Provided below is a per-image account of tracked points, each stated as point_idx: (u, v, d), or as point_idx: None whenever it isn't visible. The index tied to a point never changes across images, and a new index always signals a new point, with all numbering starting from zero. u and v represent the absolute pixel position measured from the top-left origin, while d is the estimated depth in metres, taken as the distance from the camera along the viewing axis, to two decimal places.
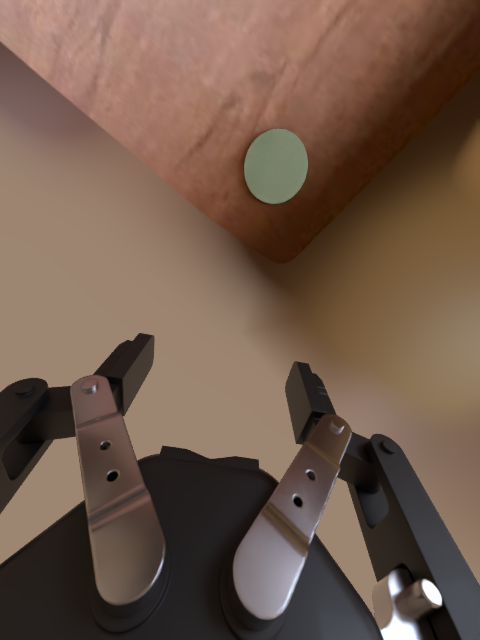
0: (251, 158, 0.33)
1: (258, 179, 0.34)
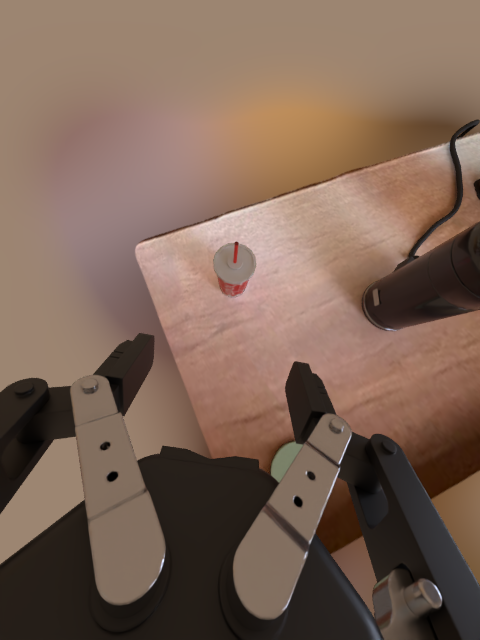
0: (283, 454, 0.36)
1: (282, 474, 0.35)
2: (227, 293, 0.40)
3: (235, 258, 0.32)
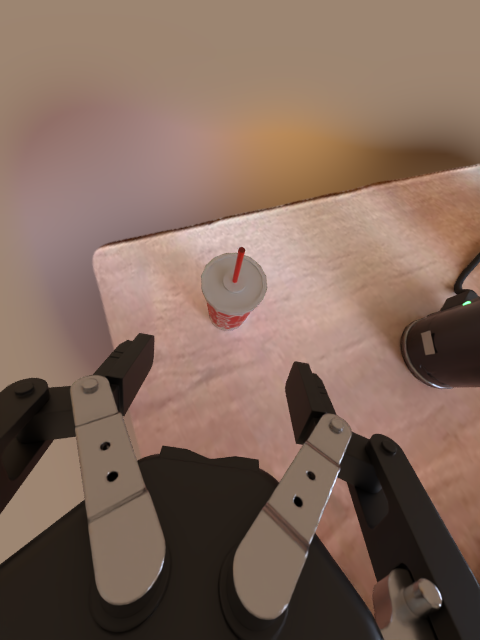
0: None
1: None
2: (219, 325, 0.28)
3: (236, 275, 0.20)
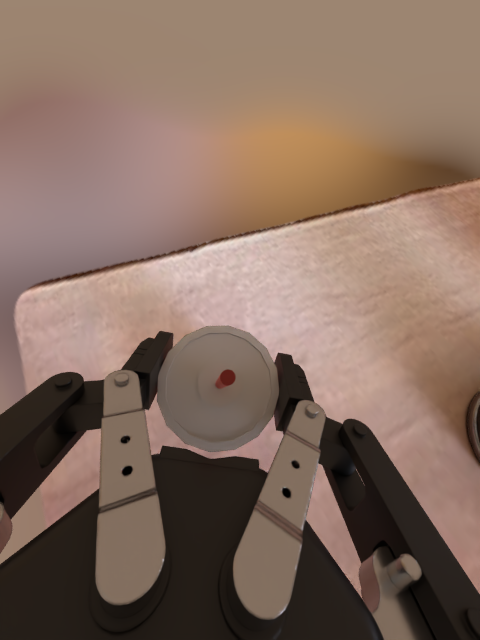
0: None
1: None
2: None
3: None
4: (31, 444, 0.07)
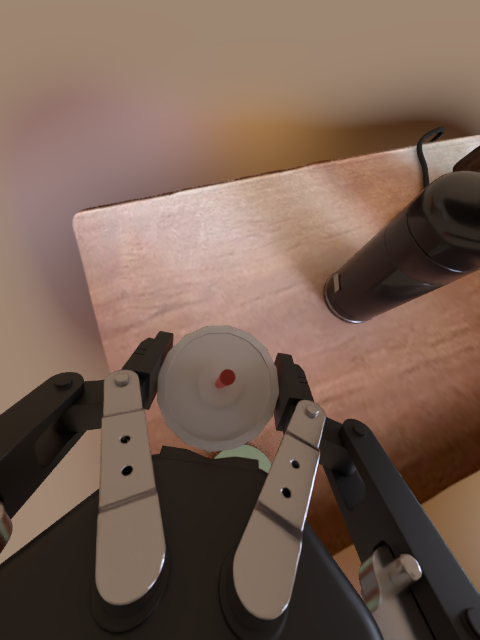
0: None
1: None
2: None
3: (221, 387, 0.10)
4: (31, 444, 0.07)
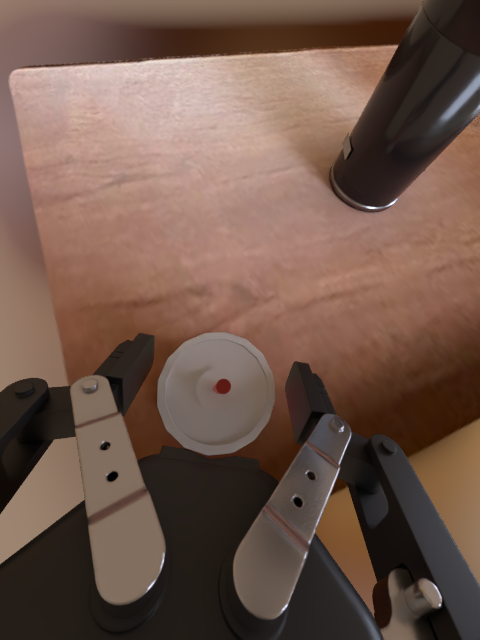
0: None
1: None
2: None
3: None
4: None
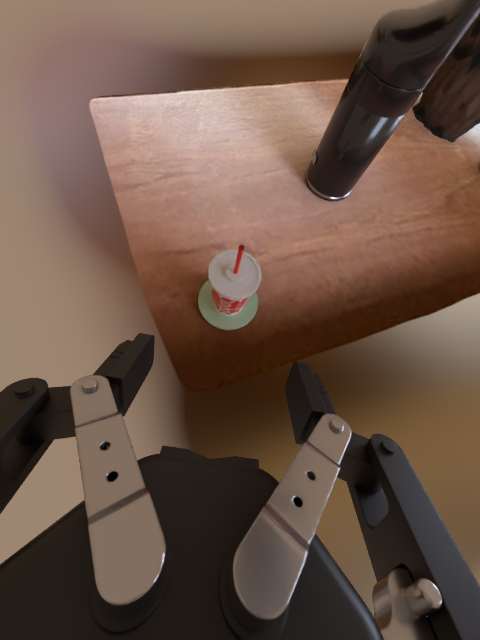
0: None
1: (210, 299, 0.35)
2: (221, 310, 0.33)
3: (237, 267, 0.25)
4: None
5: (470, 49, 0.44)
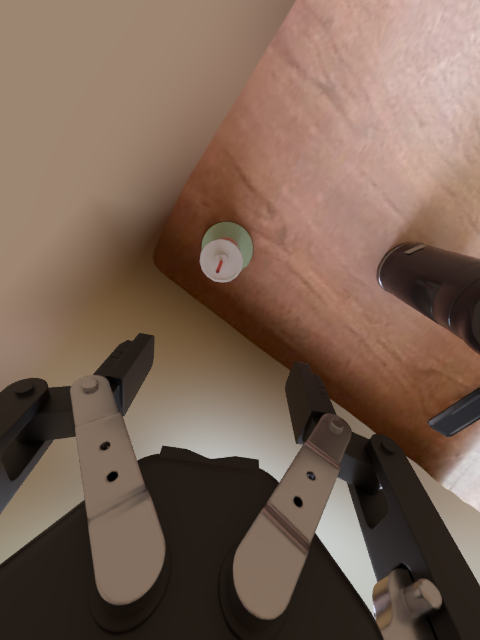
0: (233, 228, 0.40)
1: (219, 235, 0.40)
2: None
3: (219, 265, 0.32)
4: None
5: None
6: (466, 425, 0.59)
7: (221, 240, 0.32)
